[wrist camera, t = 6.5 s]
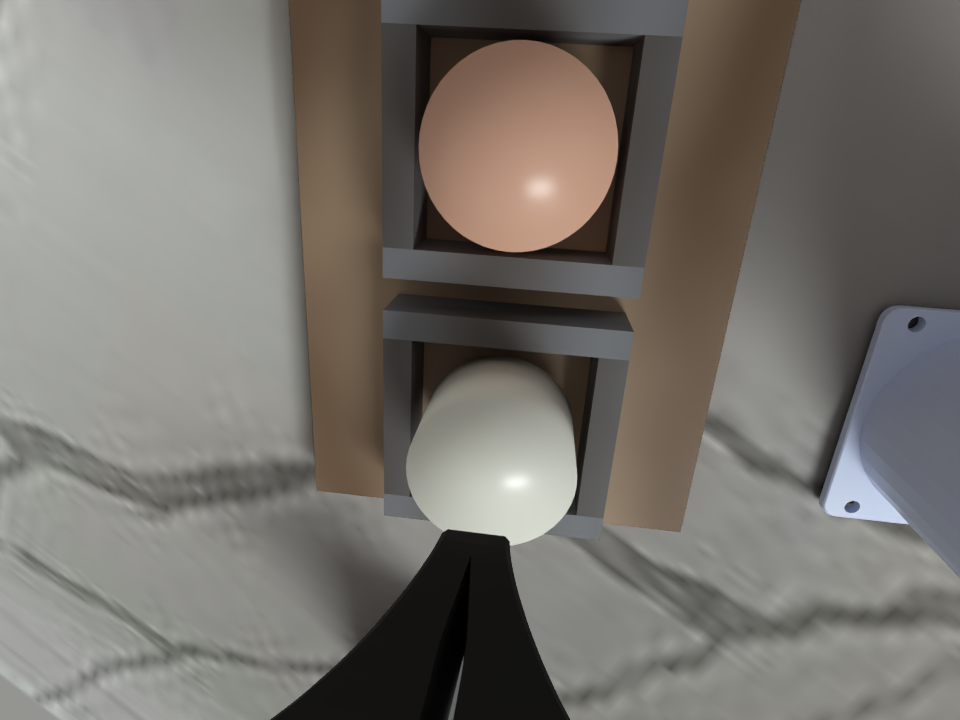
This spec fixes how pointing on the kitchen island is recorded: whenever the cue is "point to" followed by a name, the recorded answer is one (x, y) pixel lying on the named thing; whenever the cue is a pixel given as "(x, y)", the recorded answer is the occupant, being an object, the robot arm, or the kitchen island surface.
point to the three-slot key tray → (540, 273)
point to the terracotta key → (518, 146)
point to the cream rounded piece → (495, 451)
